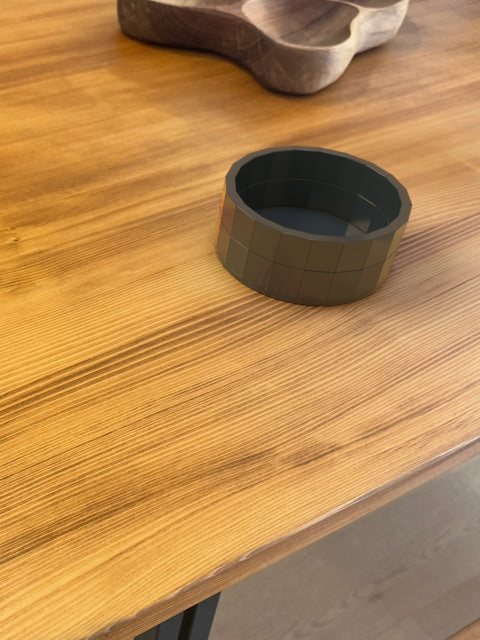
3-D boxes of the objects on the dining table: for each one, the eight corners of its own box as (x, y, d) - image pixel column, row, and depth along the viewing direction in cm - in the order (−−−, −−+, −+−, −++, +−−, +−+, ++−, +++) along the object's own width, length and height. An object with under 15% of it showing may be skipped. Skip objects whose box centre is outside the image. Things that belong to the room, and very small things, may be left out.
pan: (417, 251, 69) (442, 188, 65) (335, 330, 61) (356, 266, 57) (272, 189, 76) (285, 129, 71) (180, 254, 68) (189, 190, 64)
